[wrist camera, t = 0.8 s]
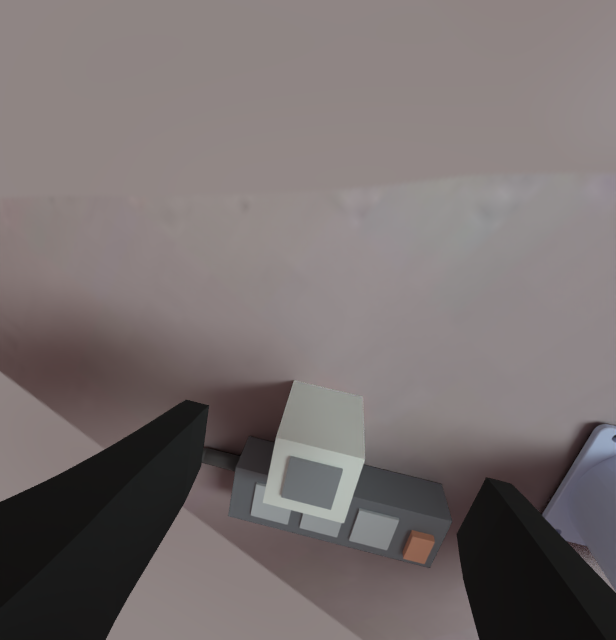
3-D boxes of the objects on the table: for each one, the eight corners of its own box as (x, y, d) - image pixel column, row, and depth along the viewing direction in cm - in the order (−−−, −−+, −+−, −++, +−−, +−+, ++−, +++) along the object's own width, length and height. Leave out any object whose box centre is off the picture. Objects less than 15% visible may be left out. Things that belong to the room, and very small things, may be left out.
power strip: (442, 481, 22) (455, 525, 19) (421, 527, 23) (431, 575, 20) (204, 422, 22) (183, 457, 20) (199, 471, 24) (178, 509, 21)
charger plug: (362, 396, 20) (365, 461, 16) (345, 453, 22) (343, 528, 17) (294, 379, 21) (275, 439, 16) (281, 437, 22) (261, 507, 17)
